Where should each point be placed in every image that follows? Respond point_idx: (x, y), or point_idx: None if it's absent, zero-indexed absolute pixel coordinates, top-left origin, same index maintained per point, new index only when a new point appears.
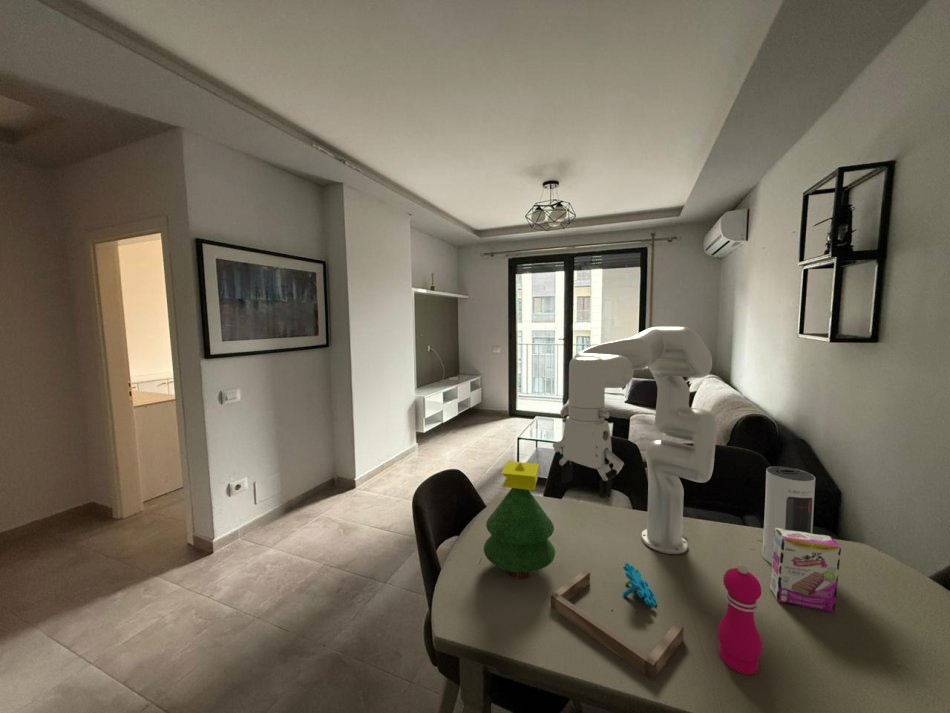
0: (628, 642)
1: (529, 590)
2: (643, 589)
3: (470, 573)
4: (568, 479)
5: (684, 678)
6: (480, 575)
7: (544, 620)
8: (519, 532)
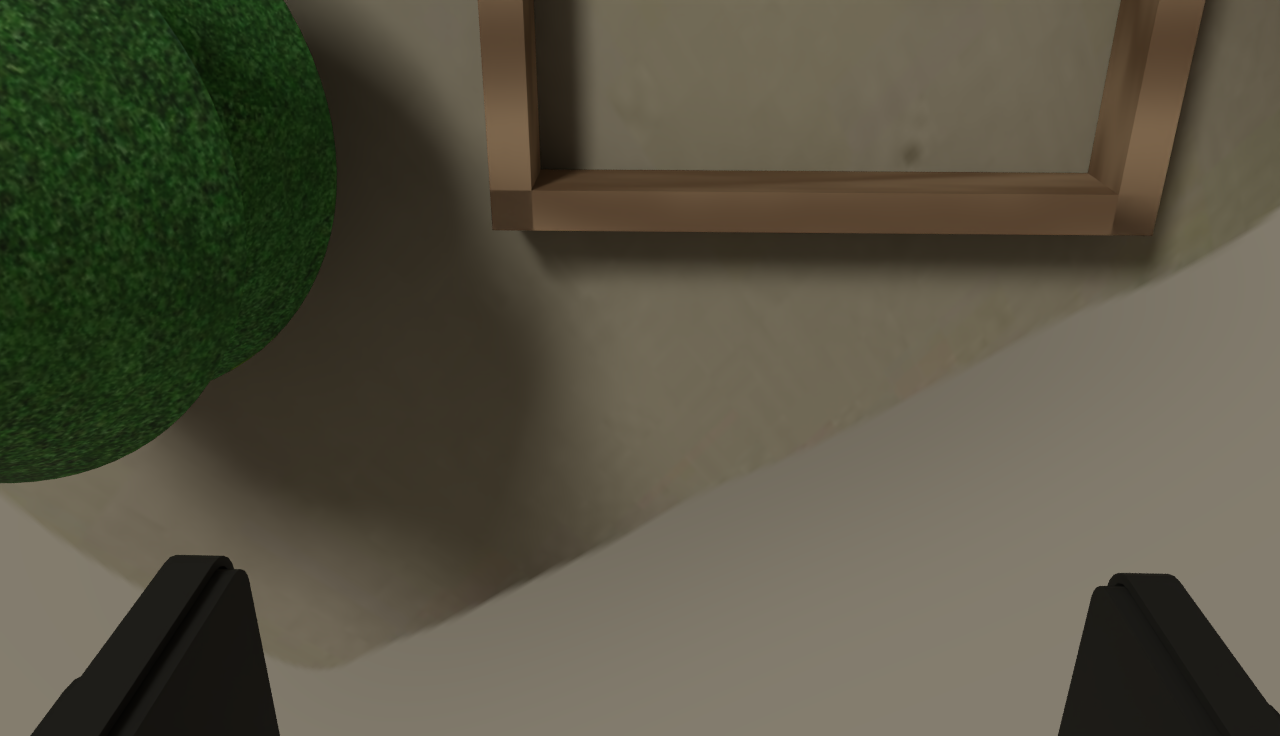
0: (1004, 199)
1: None
2: None
3: None
4: (248, 704)
5: (1246, 81)
6: None
7: (549, 305)
8: (101, 418)
